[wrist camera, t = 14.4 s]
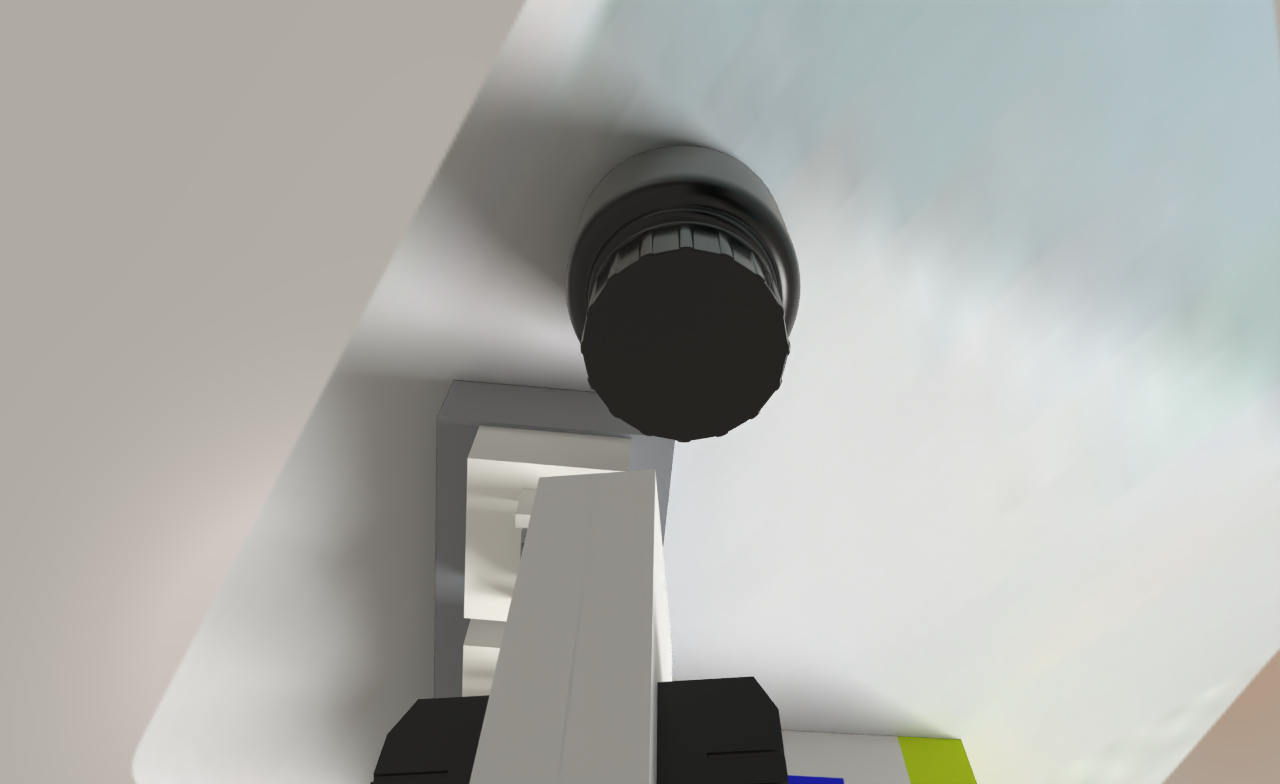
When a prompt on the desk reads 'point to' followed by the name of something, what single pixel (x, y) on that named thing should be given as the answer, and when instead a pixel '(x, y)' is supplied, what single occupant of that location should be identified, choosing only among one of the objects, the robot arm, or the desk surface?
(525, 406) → the block
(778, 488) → the desk surface
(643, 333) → the ink bottle
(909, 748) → the puzzle toy
